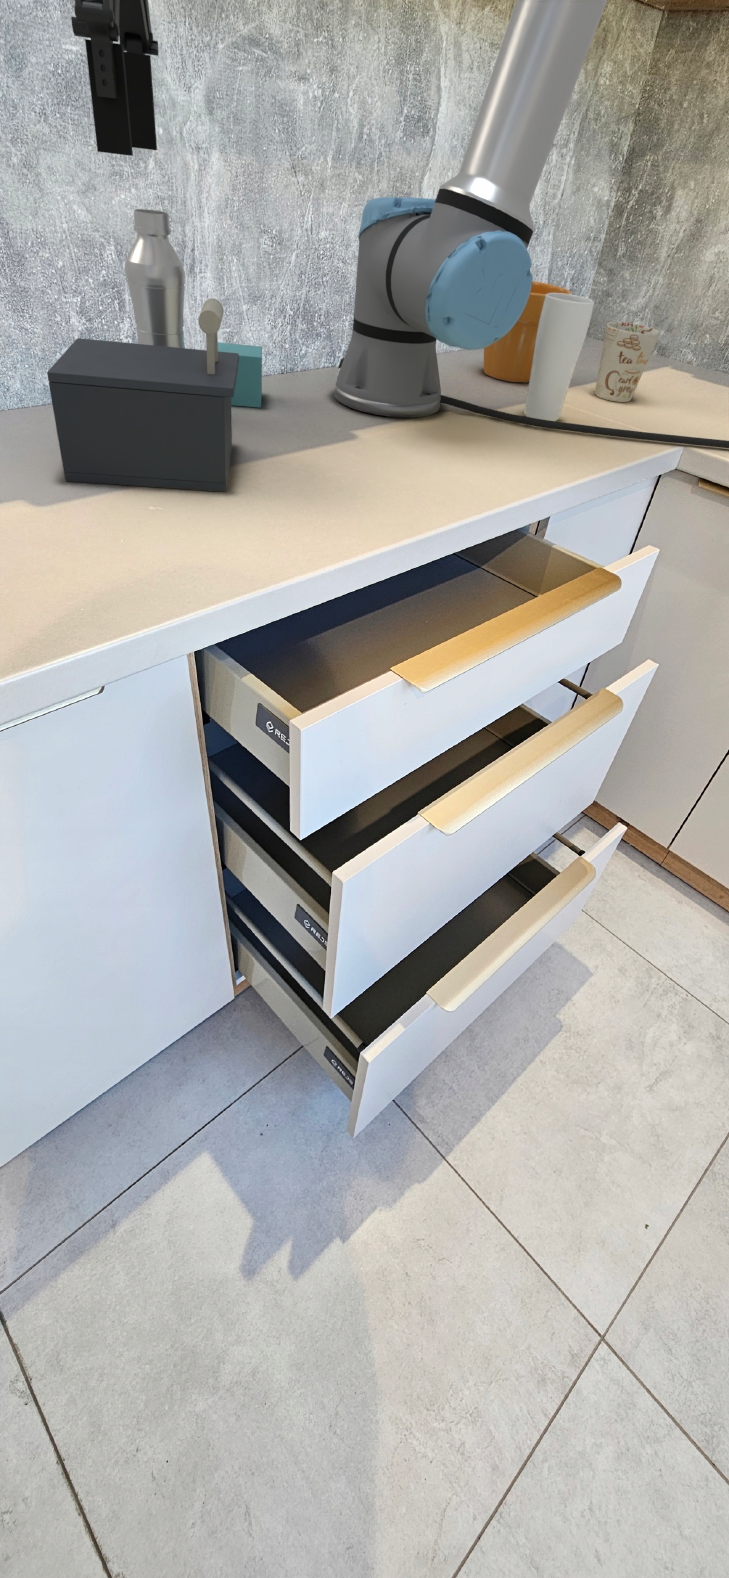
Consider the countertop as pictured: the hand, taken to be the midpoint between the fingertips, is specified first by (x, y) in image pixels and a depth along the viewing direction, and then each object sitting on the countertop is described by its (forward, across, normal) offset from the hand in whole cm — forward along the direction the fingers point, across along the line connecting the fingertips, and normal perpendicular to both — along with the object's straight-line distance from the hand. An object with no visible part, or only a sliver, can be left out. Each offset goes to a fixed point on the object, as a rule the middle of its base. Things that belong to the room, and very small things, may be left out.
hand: (129, 151), depth 65 cm
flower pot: (+26, -51, +52) cm, 77 cm away
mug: (+26, -46, +69) cm, 87 cm away
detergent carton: (+25, -22, +8) cm, 34 cm away
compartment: (+25, +5, +1) cm, 26 cm away
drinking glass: (+26, -27, +52) cm, 64 cm away
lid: (+16, +5, +1) cm, 17 cm away
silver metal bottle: (+26, -13, -1) cm, 29 cm away
